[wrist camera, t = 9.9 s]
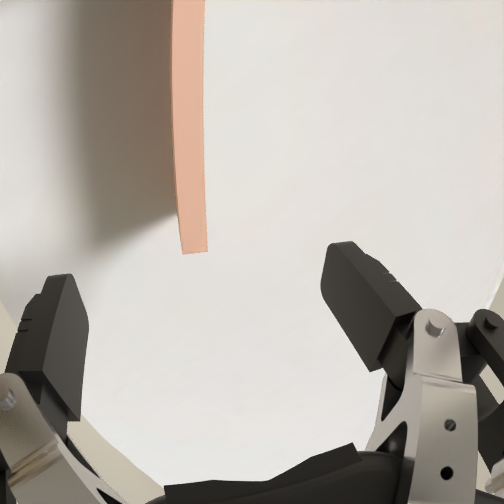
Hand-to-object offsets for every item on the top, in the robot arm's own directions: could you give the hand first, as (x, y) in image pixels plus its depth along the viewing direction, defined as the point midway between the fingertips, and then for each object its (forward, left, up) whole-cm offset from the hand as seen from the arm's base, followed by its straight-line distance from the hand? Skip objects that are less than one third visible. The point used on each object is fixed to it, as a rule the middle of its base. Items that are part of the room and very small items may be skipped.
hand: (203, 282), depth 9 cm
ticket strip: (-9, 0, -10) cm, 14 cm away
